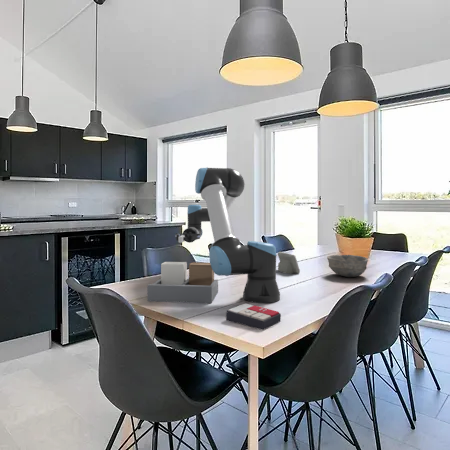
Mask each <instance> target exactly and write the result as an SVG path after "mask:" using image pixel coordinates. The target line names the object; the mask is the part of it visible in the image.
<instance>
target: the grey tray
mask: <svg viewBox="0 0 450 450" xmlns="http://www.w3.org/2000/svg"><path fill="white" fill-rule="evenodd" d="M146 290H147V291H146V292H147V294H146V295H147V296H146V297H147V302H160V303H161V302H164V303H165V302H166V303H167V302H168V303H189V304H190V303H191V304H192V303H193V304H195V303H198V304H212V303H213V302H214V300H215V298H216V297H217V295H218V293H219V280H218V279H214V281H213V283H212V284H211V286H204V285H189V278H187V280H186V281H185V282H184V283H182V284H181V285H166V284H161V278H160V277H159V279H157V280H156V281H155V282H153V283H152V284H151V283H149V284H147V289H146Z"/></svg>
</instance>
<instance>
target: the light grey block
mask: <svg viewBox="0 0 450 450" xmlns="http://www.w3.org/2000/svg"><path fill="white" fill-rule="evenodd" d="M187 270H188V262H187V261H164V262H162V263H160V277H161V284H166V285H181V284H182V283H184V282H185V281H186V280H187V279H188V271H187Z"/></svg>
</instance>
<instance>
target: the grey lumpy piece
mask: <svg viewBox="0 0 450 450" xmlns="http://www.w3.org/2000/svg"><path fill="white" fill-rule="evenodd" d="M277 256H278V259H279V260H278V261H279V262H278V264H277V266H278V267H277V269H278V272H281V273H284V274H300V272H301V269H300V266H299V263H298V261H297V257H296V255H295V254H292V253H288V252H283V251H279V252H277Z"/></svg>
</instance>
